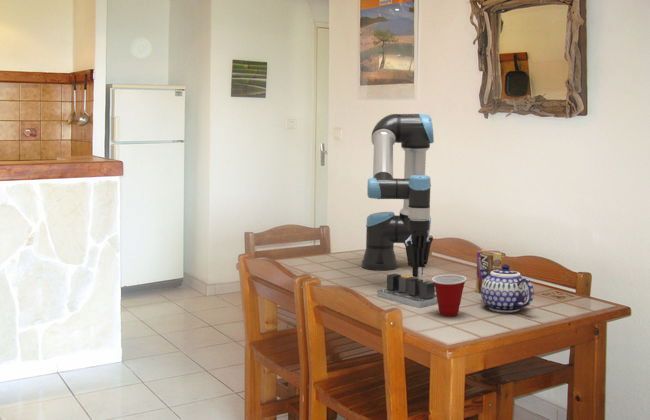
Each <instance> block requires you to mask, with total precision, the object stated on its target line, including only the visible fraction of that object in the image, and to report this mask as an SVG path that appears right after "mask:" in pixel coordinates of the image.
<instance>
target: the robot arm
mask: <svg viewBox="0 0 650 420" xmlns="http://www.w3.org/2000/svg"><path fill="white" fill-rule="evenodd" d="M370 137H371V138H370V139H371V144H372V145H373V159H372V160H373V161H372V162H373V164H372V165H373V167H372V177H371V178H370V177H369V178H368V179H367V192H366V193H367V198H369V199H374V200H375V199H376V200H403V205H402V209H400V211H399V215H395V212H394V211H380V212H373V213H371V214H369V215H368V216H366V225H365V227H366V232H365V233H366V237H365V238H366V239H365V240H366V241H365V243H366V244H365V245H366V246H365V251H364V254H363V258H362V260H361V268H363V269H365V270H373V271H391V270H396V269H398V260H397V257H396V253H395V248H394V244H403V245H404V247H405V254H406V260H407V266H408V267H409V266H410V267H412V269H411V270H412V275H411V276H412V277H413V279H421V280H423V277H422V276H423V273H424V272H423V271H424V269H423V268H426V266H427V264H428V262H429V257H430V251H431V245H432V242H433V240H434V239H433V237H430V231H431V225H432V223H431V221H432V218H431V205H430V204H431V187H432V185H431V184H432V183H431V177H430V176H429V175H426V161H427V151H428V150H429V149H430V148H431V144H434V142H435V140H434V128H433V121H432V117H431V115H429V114H425V113H391V114H388V115H385V116H384V117H382V118H381V119H380V120H379V121H377V122H376V125H374V127H373V130H372V132H371V136H370ZM395 143H397V144H400V145H401V146H400V147H401V149H402V150H403V151H404V168H403V169H404V173H403V175H404V177H403V178H394V145H395Z"/></svg>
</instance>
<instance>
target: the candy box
mask: <svg viewBox="0 0 650 420" xmlns="http://www.w3.org/2000/svg"><path fill="white" fill-rule="evenodd" d="M476 254H477V257H476V258H477V259H476V278H475V279H476V280H475V281H476V282H475V292H477V293H479V294H481V287H482V274H481V272H480V270H479V269H487V271H488V274H490V273H491V271H494V270H500V269H502V257H503V256H502V255H503V254H502V253H500V252H495V251H491V250H487V249H481V250H480V249H479V250H477V253H476Z"/></svg>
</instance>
